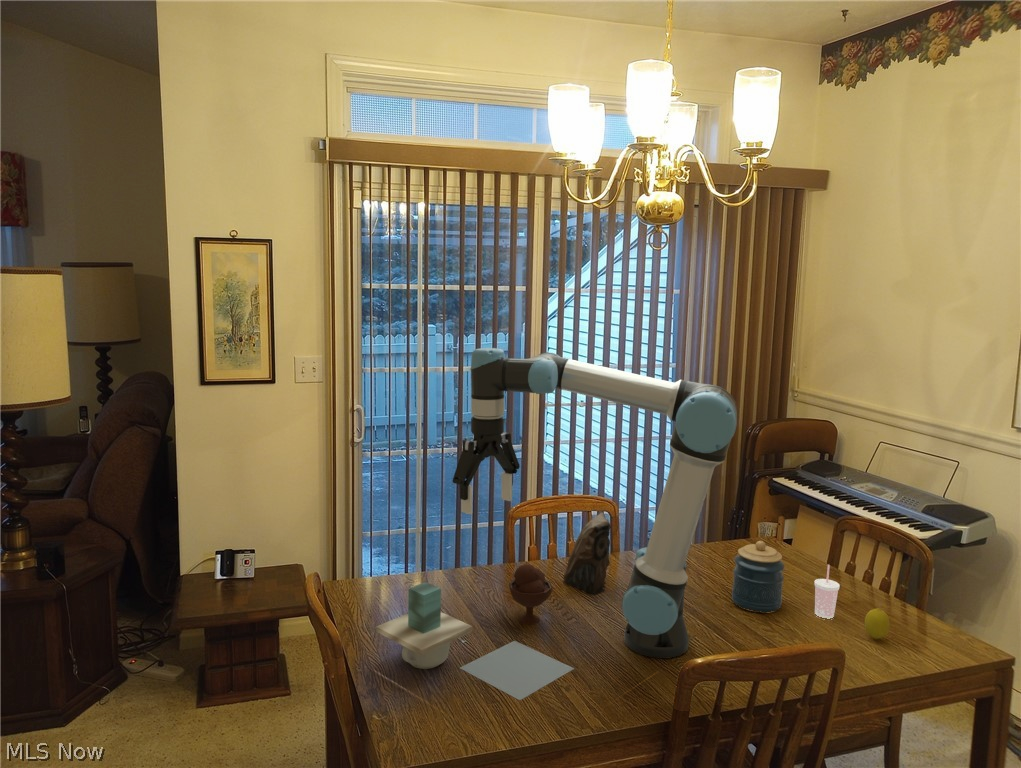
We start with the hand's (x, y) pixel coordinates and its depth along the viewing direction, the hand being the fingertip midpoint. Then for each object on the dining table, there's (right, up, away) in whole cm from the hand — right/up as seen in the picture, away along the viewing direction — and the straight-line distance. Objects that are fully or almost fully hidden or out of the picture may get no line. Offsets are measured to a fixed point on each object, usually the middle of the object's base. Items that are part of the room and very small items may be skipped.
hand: (487, 506), depth 176 cm
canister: (+72, -31, +29) cm, 84 cm away
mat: (+7, -35, -8) cm, 36 cm away
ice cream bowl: (+10, -32, +16) cm, 37 cm away
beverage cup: (+88, -33, +23) cm, 96 cm away
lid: (-14, -26, -9) cm, 31 cm away
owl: (+27, -29, +39) cm, 56 cm away
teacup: (-14, -34, -7) cm, 38 cm away
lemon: (+95, -35, +11) cm, 102 cm away
